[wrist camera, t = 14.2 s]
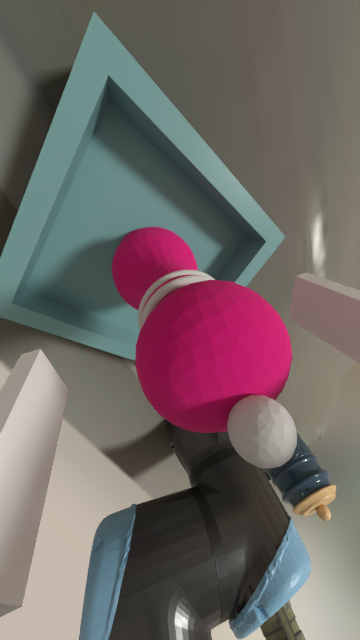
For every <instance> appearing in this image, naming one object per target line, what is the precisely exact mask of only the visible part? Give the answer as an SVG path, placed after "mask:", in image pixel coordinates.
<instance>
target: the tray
mask: <svg viewBox="0 0 360 640" xmlns="http://www.w3.org/2000/svg"><path fill="white" fill-rule="evenodd" d="M145 227H160V228H165V229H168V230H170V231H172V232H174V233H175V234H177V235H178V236H179V237H181V238H182V239H183V240H184V241H185V242H186V243H187V244H188V246H189V247H190V249H191V250H192V252H193V255H194V257H195V260H196V263H197V267H198V271H201V272H203V273H206V274H208V275H210V276H211V277H212V278H214V279H215V280H220V281H232V282H234V283H237V284H239V285H242V286H244V287H246V286H247V285H248V283H249V282H250V281H251V280H252V278H253V277H254V276H255V275H256V273H257V272H258V271H259V270H260V268H261V267H262V266H263V265H264V263H265V262H266V261H267V260H268V258H269V257H270V256H271V254H272V253H273V252H274V251H275V249H276V248H277V247H278V246H279V244H280V243H281V242H282V241H283V239H284V238H285V236H284V234H283V233H282V232H281V231H280V230H279V229H278V227H277V226H276V225H275V224H274V223H273V222H272V220H271V219H270V218H269V217H268V216H267V214H266V213H265V212H264V211H263V210H262V209H261V207H260V206H259V205H258V204H257V203H256V202H255V200H254V199H253V198H252V197H251V196H250V194H249V193H248V192H247V191H246V190H245V189H244V187H243V186H242V185H241V184H240V183H239V181H238V180H237V179H236V178H235V177H234V176H233V174H232V173H231V172H230V171H229V170H228V169H227V167H226V166H225V165H224V164H223V163H222V161H221V160H220V159H219V158H218V157H217V156H216V154H215V153H214V152H213V151H212V150H211V149H210V147H209V146H208V145H207V144H206V143H205V141H204V140H203V139H202V138H201V137H200V136H199V134H198V133H197V132H196V131H195V130H194V129H193V127H192V126H191V125H190V124H189V123H188V121H187V120H186V119H185V118H184V117H183V116H182V114H181V113H180V112H179V111H178V110H177V108H176V107H175V106H174V105H173V104H172V103H171V101H170V100H169V99H168V98H167V97H166V96H165V94H164V93H163V92H162V91H161V90H160V88H159V87H158V86H157V85H156V84H155V83H154V81H153V80H152V79H151V78H150V77H149V76H148V74H147V73H146V72H145V71H144V70H143V68H142V67H141V66H140V65H139V64H138V63H137V61H136V60H135V59H134V58H133V57H132V56H131V54H130V53H129V52H128V51H127V50H126V48H125V47H124V46H123V45H122V44H121V43H120V41H119V40H118V39H117V38H116V37H115V35H114V34H113V33H112V32H111V31H110V30H109V28H108V27H107V26H106V25H105V24H104V23H103V21H102V20H101V19H100V18H99V17H98V15H97V14H96V13H95V12H94V13H93V15H92V18H91V21H90V23H89V26H88V28H87V31H86V34H85V36H84V39H83V42H82V44H81V47H80V50H79V52H78V55H77V57H76V60H75V63H74V65H73V68H72V71H71V73H70V76H69V78H68V81H67V84H66V86H65V89H64V92H63V94H62V97H61V99H60V102H59V105H58V107H57V110H56V113H55V115H54V118H53V121H52V123H51V126H50V128H49V131H48V134H47V136H46V139H45V142H44V144H43V147H42V149H41V152H40V155H39V157H38V160H37V163H36V165H35V168H34V170H33V173H32V176H31V178H30V181H29V184H28V186H27V189H26V192H25V194H24V197H23V199H22V202H21V205H20V207H19V210H18V213H17V215H16V218H15V220H14V223H13V226H12V228H11V231H10V234H9V236H8V239H7V241H6V244H5V247H4V249H3V252H2V255H1V257H0V317H1V318H4V319H7V320H10V321H13V322H16V323H19V324H23V325H26V326H29V327H32V328H35V329H38V330H41V331H44V332H47V333H50V334H54V335H57V336H60V337H63V338H66V339H69V340H72V341H75V342H78V343H81V344H85V345H88V346H91V347H94V348H97V349H100V350H103V351H106V352H109V353H113V354H116V355H119V356H122V357H125V358H128V359H131V360H134V361H135V357H136V344H137V340H138V336H139V333H140V329H139V325H138V310H137V309H135V308H133V307H132V306H130V305H129V304H128V303H127V302H126V301H125V300H124V299H123V298H122V297H121V295H120V294H119V292H118V291H117V288H116V286H115V283H114V280H113V276H112V261H113V256H114V254H115V251H116V249H117V247H118V246H119V244H120V242H121V241H122V239H123V238H124V237H125V236H126V235H127V234H128V233H130V232H132V231H134V230H136V229H140V228H145Z"/></svg>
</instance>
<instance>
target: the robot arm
mask: <svg viewBox="0 0 360 640" xmlns="http://www.w3.org/2000/svg"><path fill="white" fill-rule="evenodd" d="M289 319H291V320H292V321H294V322H296V323H297V324H299V325H300V326H302V327H304V328H305V329H307V330H308V331H310V332H311V333H313V334H315V335H316V336H318V337H319V338H321V339H322V340H324V341H326V342H327V343H329V344H330V345H332V346H333V347H335V348H337V349H338V350H340V351H341V352H343V353H345V354H346V355H348V356H349V357H351V358H352V359H354V360H356V361H357V362H359V363H360V291H359V290H357V289H354V288H351V287H348V286H345V285H342V284H339V283H336V282H333V281H330V280H327V279H325V278H322V277H319V276H316V275H313V274H310V273H304V274H300V275H297V276H296V277H295V283H294V289H293V295H292V301H291V307H290V313H289ZM68 391H69V390H68V388H67V387H66V385H65V384H64V382H63V381H62V379H61V378H60V377H59V375H58V374H57V372H56V371H55V369H54V368H53V366H52V365H51V363H50V362H49V361H48V359H47V358H46V356H45V355H44V353H43V352H42V350H41V349H38V350H35V351H31V352H28V353H24V354H21V356H20V358H19V360H18V361H17V363H16V365H15V366H14V368H13V370H12V372H11V373H10V375H9V377H8V379H7V380H6V382H5V384H4V385H3V387H2V389H1V391H0V617H1V616H3V615H5V614H7V613H9V612H11V611H13V610H16V609H18V608H19V607H22V603H23V598H24V594H25V589H26V585H27V580H28V575H29V571H30V566H31V562H32V557H33V552H34V548H35V543H36V538H37V534H38V529H39V525H40V520H41V515H42V511H43V506H44V502H45V497H46V492H47V488H48V483H49V478H50V474H51V469H52V465H53V459H54V455H55V450H56V446H57V442H58V437H59V432H60V428H61V423H62V419H63V414H64V409H65V405H66V400H67V395H68ZM167 436H168V440H169V444H170V446H171V448H172V450H173V451H174V452H175V453H176V455H177V457H178V459H179V461H180V462H181V464H182V466H183V467H184V469H185V470H186V472H187V474H188V476H189V480H190V483H191V487H192V488H189V489H186V490H182V491H179V492H176V493H173V494H169V495H166V496H163V497H160V498H157V499H153V500H150V501H147V502H144V503H141V504H137V505H136V504H132V505H131V507H129V508H126V509H124V510H121V511H118V512H116V513H113V514H110V515H109V516H107V517H106V518H104V519H103V520H102V522H101V523H100V524H99V526H98V528H97V530H96V533H95V536H94V540H93V546H92V550H91V556H90V563H89V569H88V576H87V583H86V589H85V596H84V604H83V612H82V619H81V627H80V635H79V640H212V638H211V629H213V628H214V627H216V626H218V625H219V624H221V623H223V622H225V621H226V620H228V619H229V625H230V628H231V629H232V631H233V632H234V635H235V636H236V637H237V638H238V639H243V638H245V637H247V636H248V635H249V634H251V633H252V632H254V631H255V630H256V629H257V628H258V627H260V626H261V625H262V624H263V623H264V622H265V621H266V620H267V619H269V618H270V617H272V616H273V615H274V614H275V613H276V612H277V611H278V610H279V609H280V608H281V607H282V606H284V605H285V604H286V603H287V602H288V601H289V600H290V599H291V598H292V597H293V596H294V595H295V594H296V592H297V591H298V590H299V589H300V588H301V587H302V586H303V585H304V583H305V582H306V581H307V579H308V577H309V575H310V571H311V563H310V557H309V554H308V552H307V550H306V548H305V546H304V544H303V542H302V540H301V538H300V536H299V534H298V532H297V530H296V528H295V526H294V522H293V520H292V518H291V517H290V516H289V515H288V514H287V512H286V510H285V508H284V507H283V505H282V503H281V501H280V499H279V498H278V496H277V494H276V493H275V491H274V489H273V487H272V486H271V484H270V482H269V480H268V479H267V477H266V475H265V473H264V472H263V470H262V468H259V467H257V466H255V465H253V464H251V463H249V462H247V461H246V460H244V459H243V458H242V457H241V456H240V455H239V454H238V453H237V451H236V450H235V448H234V447H233V445H232V443H231V441H230V438H229V434H228V431H226V432H216V433H199V432H192V431H189V430H186V429H183V428H180V427H178V426H176V425H174V424H172V423H171V422H169V424H168V426H167Z"/></svg>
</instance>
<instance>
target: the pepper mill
mask: <svg viewBox="0 0 360 640" xmlns="http://www.w3.org/2000/svg"><path fill="white" fill-rule="evenodd" d="M112 276H113V280H114V283H115V286H116V288H117V291H118V292H119V294H120V295H121V297H122V298H123V299H124V300H125V301H126V302H127V303H128V304H129V305H130V306H132V307H133V308H135V309H137V310H138V325H139V329H140V333H139V336H138V340H137V344H136V357H135V364H136V369H137V374H138V378H139V381H140V384H141V387H142V389H143V392H144V394H145V396H146V397H147V399H148V401H149V402H150V403H151V405H152V406H153V407H154V409H155V410H156V411H157V412H158V413H159V414H160V415H161V416H162V417H163V418H165V419H166V420H168V421H169V422H171V423H172V424H174V425H176V426H178V427H180V428H183V429H186V430H189V431H192V432H199V433H216V432H226V431H228V434H229V438H230V441H231V443H232V445H233V447H234V448H235V450H236V451H237V453H238V454H239V455H240V456H241V457H242V458H243V459H244V460H246V461H247V462H249V463H251V464H253V465H255V466H257V467H259V468H267V469H271V468H275V467H280V466H282V465H283V464H285V463H286V462H287V461H289V460H290V459H291V457H292V456H293V454H294V451H295V448H296V445H297V432H296V428H295V424H294V421H293V419H292V417H291V416H290V414H289V413H288V412H287V410H286V409H285V408H284V407H283V406H282V405H281V404H279V403H278V402H276V401H275V400H276V398H277V397H278V396H279V394H280V393H281V392H282V390H283V388H284V386H285V383H286V381H287V378H288V376H289V371H290V366H291V361H292V351H291V343H290V337H289V334H288V331H287V329H286V327H285V325H284V323H283V321H282V319H281V318H280V316H279V314H278V313H277V312H276V310H275V309H274V308H273V307H272V306H271V305H270V304H269V303H268V302H267V301H266V300H264V299H263V298H262V297H261V296H260V295H259V294H257V293H256V292H254V291H253V290H251V289H249V288H246V287H244V286H242V285H239V284H237V283H234V282H232V281H220V280H215V279H214V278H212V277H211V276H210V275H208V274H206V273H203V272H201V271H198V267H197V263H196V260H195V257H194V255H193V252H192V250H191V249H190V247H189V246H188V244H187V243H186V242H185V241H184V240H183V239H182V238H181V237H179V236H178V235H177V234H175V233H174V232H172V231H170V230H168V229H165V228H160V227H145V228H140V229H136V230H134V231H132V232H130V233H128V234H127V235H126V236H125V237H124V238H123V239H122V241H121V242H120V244H119V246H118V247H117V249H116V251H115V254H114V256H113V261H112Z"/></svg>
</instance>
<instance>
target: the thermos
mask: <svg viewBox="0 0 360 640" xmlns="http://www.w3.org/2000/svg"><path fill="white" fill-rule="evenodd" d="M260 627H261V629H262V632H263V635H264V637H265V638H266V640H305V638H304V636H303V633H302V631H301V630H300V629H299V626H298V624H297V622H296V620H295V615H294V613H293V611H292V608H291V604H290V600H289V601H288V602H287V603H286V604H285V605H284V606H282V607H281V608H280V609H279V610H278V611H277V612H276V613H275V614H274V615H273V616H272V617H270V618H269V619H267V620H266V621H265V622H264V623H263V624H262V625H261V626H260Z"/></svg>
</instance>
